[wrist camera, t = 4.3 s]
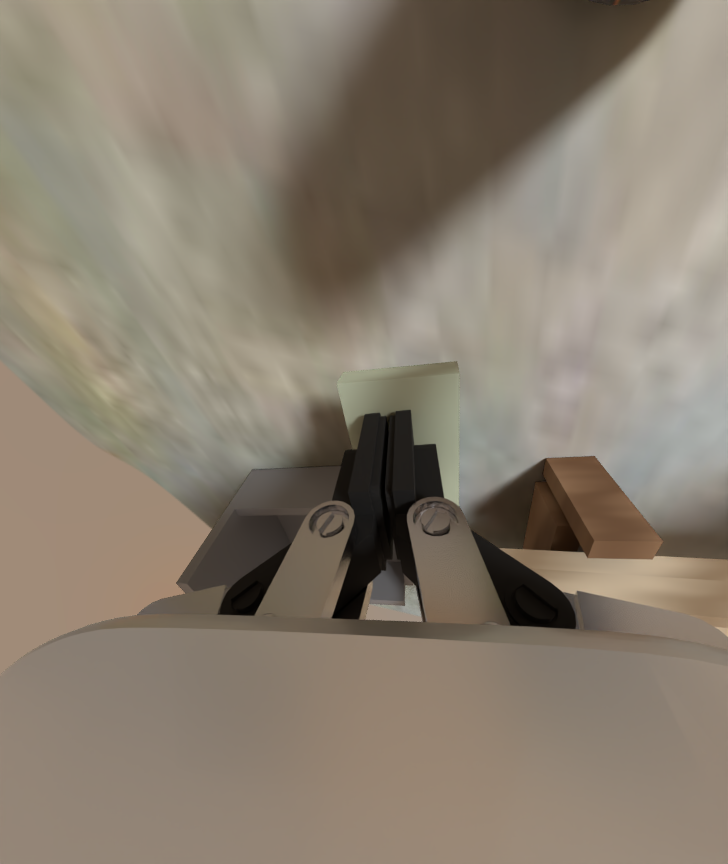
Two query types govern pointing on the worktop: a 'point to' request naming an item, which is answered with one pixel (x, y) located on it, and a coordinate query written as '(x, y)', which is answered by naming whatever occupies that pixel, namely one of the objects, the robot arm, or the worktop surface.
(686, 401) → the worktop surface
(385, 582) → the bin
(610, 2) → the beverage can
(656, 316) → the worktop surface
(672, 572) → the lever
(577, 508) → the fulcrum
